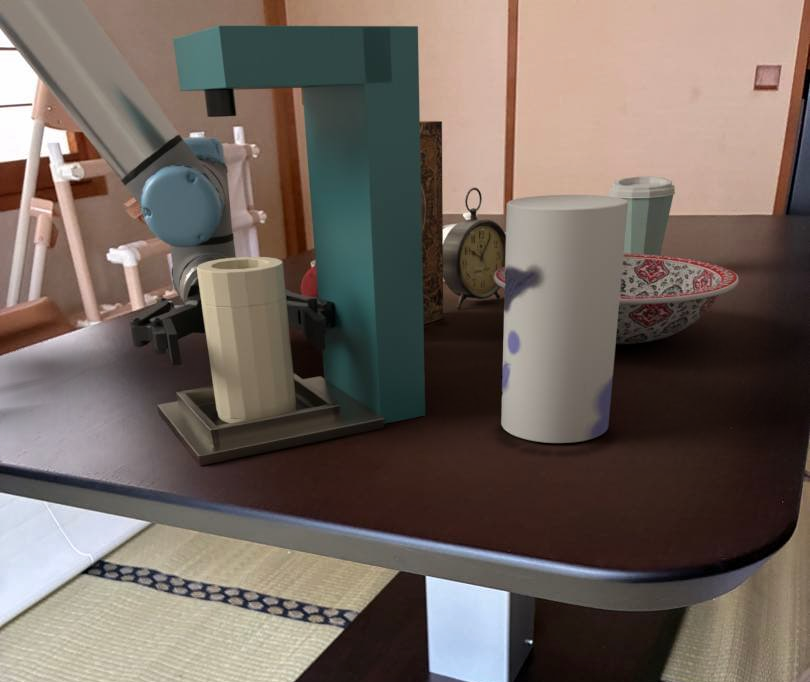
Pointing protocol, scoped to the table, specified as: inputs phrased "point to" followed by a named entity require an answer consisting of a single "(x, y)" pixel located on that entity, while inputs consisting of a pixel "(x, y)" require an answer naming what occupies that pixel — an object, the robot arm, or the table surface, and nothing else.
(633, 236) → the disposable coffee cup
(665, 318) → the ceramic bowl
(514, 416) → the container
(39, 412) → the table surface
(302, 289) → the onion
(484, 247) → the alarm clock
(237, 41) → the coffee station
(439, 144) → the book
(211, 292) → the cream faceted cup
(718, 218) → the table surface
